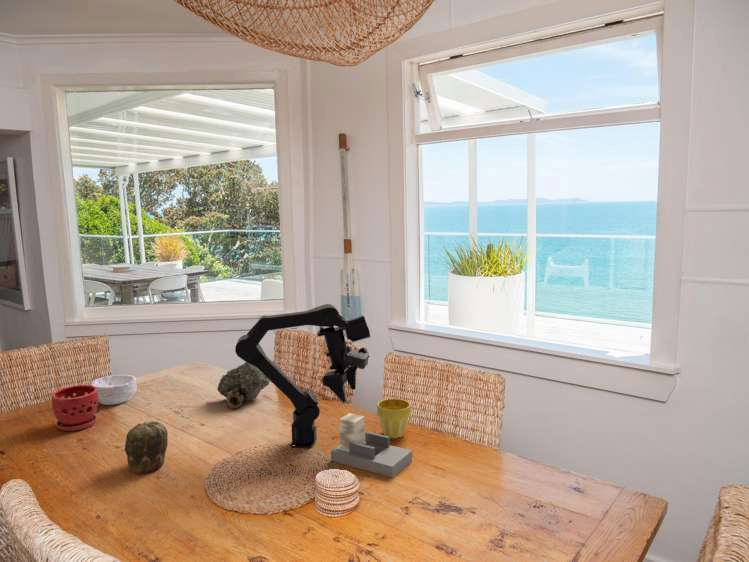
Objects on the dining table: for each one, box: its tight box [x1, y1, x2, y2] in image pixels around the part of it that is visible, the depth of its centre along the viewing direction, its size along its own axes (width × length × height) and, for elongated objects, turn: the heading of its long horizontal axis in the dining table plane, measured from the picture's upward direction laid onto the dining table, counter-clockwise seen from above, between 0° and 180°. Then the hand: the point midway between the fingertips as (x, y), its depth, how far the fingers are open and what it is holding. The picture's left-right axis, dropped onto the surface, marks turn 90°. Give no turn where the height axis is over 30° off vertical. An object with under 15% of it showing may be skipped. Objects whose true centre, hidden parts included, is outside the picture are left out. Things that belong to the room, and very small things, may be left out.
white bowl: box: [90, 374, 138, 406], centre depth 200 cm, size 15×15×8 cm
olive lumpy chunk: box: [124, 420, 169, 475], centre depth 147 cm, size 11×11×12 cm
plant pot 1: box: [51, 384, 99, 432], centre depth 176 cm, size 13×13×12 cm
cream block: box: [339, 412, 366, 449], centre depth 152 cm, size 5×5×8 cm
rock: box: [216, 361, 271, 409], centre depth 196 cm, size 18×14×15 cm
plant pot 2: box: [376, 398, 412, 439], centre depth 167 cm, size 10×10×10 cm
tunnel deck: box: [330, 431, 413, 478], centre depth 149 cm, size 20×11×6 cm, turn 59°
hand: (349, 395), depth 162 cm, fingers open, 9 cm apart
